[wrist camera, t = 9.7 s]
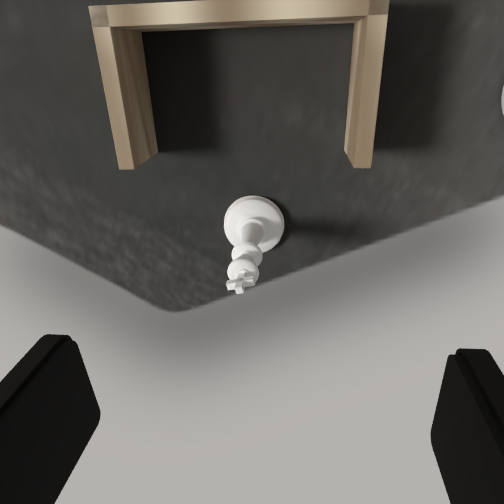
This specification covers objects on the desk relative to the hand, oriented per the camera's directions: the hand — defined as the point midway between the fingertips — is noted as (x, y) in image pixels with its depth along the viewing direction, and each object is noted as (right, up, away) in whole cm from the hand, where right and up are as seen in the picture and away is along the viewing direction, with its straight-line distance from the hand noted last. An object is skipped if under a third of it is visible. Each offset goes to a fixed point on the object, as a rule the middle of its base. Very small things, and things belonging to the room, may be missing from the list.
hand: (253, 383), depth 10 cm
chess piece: (0, +6, +22) cm, 22 cm away
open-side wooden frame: (0, +15, +17) cm, 22 cm away
